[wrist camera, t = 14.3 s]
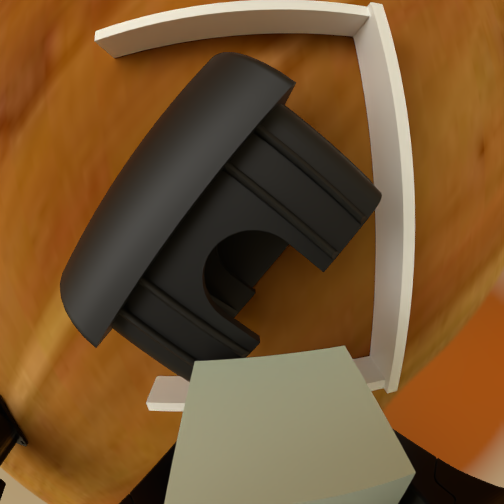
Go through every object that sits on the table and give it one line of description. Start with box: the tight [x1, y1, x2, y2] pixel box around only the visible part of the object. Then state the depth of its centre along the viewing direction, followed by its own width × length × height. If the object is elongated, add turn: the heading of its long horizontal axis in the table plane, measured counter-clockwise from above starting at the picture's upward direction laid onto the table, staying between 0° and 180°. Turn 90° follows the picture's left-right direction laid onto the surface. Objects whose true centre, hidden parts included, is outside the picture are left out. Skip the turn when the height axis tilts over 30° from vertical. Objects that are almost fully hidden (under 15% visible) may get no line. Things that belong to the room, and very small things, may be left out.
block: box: [164, 346, 416, 504], centre depth 7 cm, size 4×4×5 cm
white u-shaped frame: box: [95, 0, 415, 411], centre depth 13 cm, size 19×13×3 cm
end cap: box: [60, 52, 382, 382], centre depth 11 cm, size 10×7×7 cm
